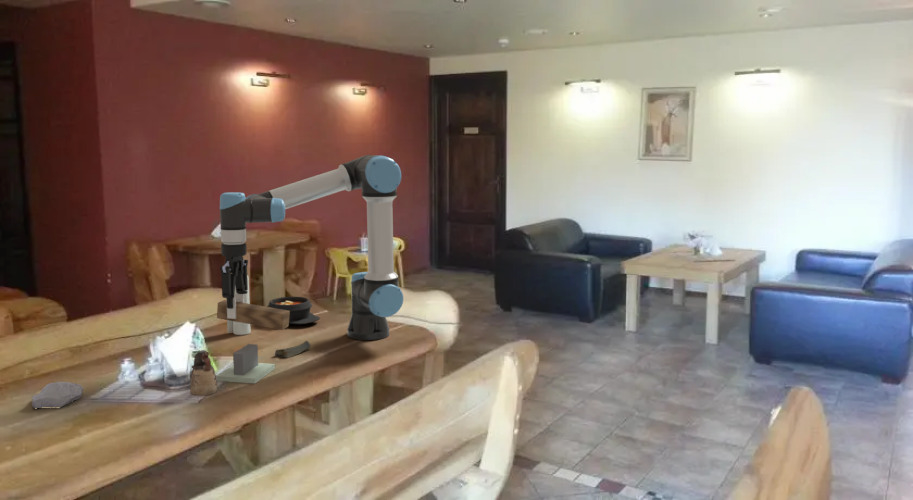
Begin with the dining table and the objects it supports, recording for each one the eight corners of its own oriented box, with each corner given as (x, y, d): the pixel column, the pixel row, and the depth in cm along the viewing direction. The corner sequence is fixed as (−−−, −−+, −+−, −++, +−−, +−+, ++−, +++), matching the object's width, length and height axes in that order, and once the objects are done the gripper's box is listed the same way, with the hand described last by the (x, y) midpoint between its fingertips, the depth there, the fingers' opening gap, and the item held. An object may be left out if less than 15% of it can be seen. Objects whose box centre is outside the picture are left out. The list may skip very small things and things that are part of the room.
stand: (274, 368, 229) (274, 343, 228) (254, 383, 215) (253, 357, 214) (238, 366, 231) (237, 341, 230) (216, 380, 218) (215, 354, 216)
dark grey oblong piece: (282, 360, 239) (282, 349, 238) (274, 356, 242) (274, 346, 242) (316, 352, 248) (316, 342, 247) (307, 349, 251) (307, 339, 251)
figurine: (210, 385, 214) (208, 345, 212) (222, 391, 209) (220, 350, 207) (186, 391, 209) (184, 350, 207) (197, 397, 204) (195, 355, 202)
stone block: (85, 399, 207) (48, 394, 206) (88, 383, 206) (50, 377, 205) (68, 417, 195) (28, 411, 194) (70, 400, 195) (30, 394, 193)
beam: (288, 326, 232) (289, 310, 231) (282, 329, 227) (283, 314, 226) (224, 314, 236) (225, 299, 235) (216, 318, 231) (217, 302, 230)
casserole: (330, 321, 287) (330, 300, 286) (296, 332, 271) (296, 309, 270) (284, 312, 300) (283, 292, 299) (249, 322, 284) (248, 301, 283)
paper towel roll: (254, 332, 270) (252, 275, 266) (241, 336, 265) (238, 277, 261) (240, 329, 274) (238, 272, 270) (227, 333, 268) (225, 275, 265)
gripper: (236, 238, 238) (238, 309, 241) (207, 246, 221) (210, 322, 224) (258, 239, 236) (259, 310, 240) (230, 247, 219) (233, 323, 223)
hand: (236, 316), depth 232 cm, fingers closed on beam, 4 cm apart
